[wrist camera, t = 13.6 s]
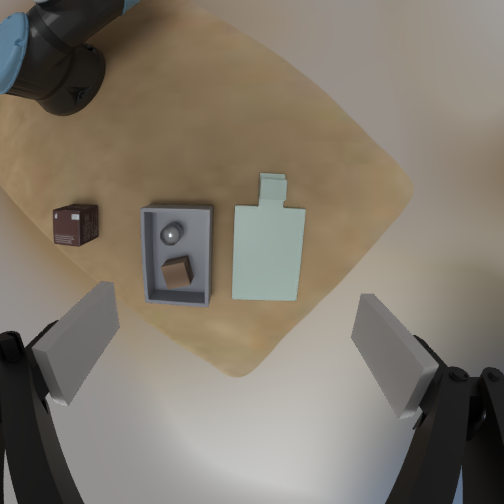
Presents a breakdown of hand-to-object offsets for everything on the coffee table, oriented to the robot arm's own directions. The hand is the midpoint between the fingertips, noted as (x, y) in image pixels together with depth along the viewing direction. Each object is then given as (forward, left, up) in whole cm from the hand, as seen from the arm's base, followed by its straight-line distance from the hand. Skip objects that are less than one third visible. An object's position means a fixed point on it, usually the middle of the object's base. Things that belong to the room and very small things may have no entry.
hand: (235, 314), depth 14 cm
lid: (+4, +5, -35) cm, 35 cm away
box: (+2, -29, -35) cm, 45 cm away
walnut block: (+10, -10, -34) cm, 37 cm away
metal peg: (+3, -11, -34) cm, 36 cm away
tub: (+7, -10, -35) cm, 37 cm away
